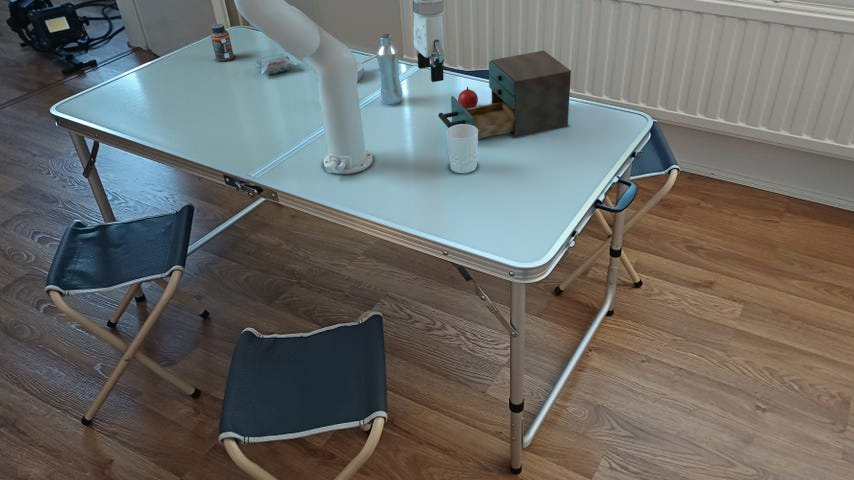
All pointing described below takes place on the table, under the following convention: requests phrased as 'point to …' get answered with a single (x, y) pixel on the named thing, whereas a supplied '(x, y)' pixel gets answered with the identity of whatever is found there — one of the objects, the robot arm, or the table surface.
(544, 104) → the cabinet
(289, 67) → the packaged food
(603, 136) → the table surface
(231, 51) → the supplement bottle
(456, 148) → the white cup
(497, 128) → the drawer
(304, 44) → the robot arm
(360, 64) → the small pan
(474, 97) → the apple
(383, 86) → the silver water bottle
